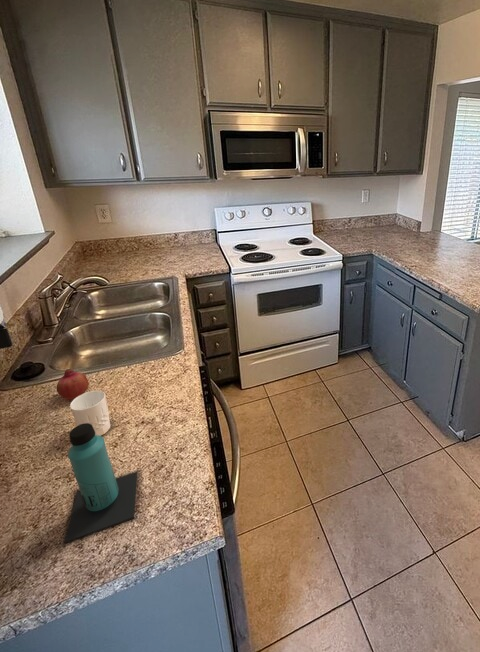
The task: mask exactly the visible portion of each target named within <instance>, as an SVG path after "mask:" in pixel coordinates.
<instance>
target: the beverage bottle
mask: <svg viewBox="0 0 480 652" xmlns="http://www.w3.org/2000/svg"><path fill="white" fill-rule="evenodd" d="M68 436H69V442H70V445H71V446H70V448H69V449H68V451H67V458H68V460H69V462H70V465H71V468H72V472H73V475H74V478H75V480H76V483H77V486H78V489H79V490H80V492H81V495H82V497H81V498H82V499H83V500H84V502H83V503H85V505H84V506H85V508H87V509H88V510H90V511H99V510H102V509H104V508H106V507H108V506H109V505H110V504H111V503H113V501H114V500H115V499H116V498H117V495H118V492H119V491H118V490H119V489H118V483H117V481H116V478H117V476H116V474H115V471H114V467H113V465H112V461H111V460H110V456H109V453H108V449H107V446H106V442H105V438H104V437H103V435H101V436H99V435H95V430H94V429H93V426H92V425H91V424H89V423H84V424H80V425H78V426H77V425H76V426H75V427H73V428H72V429H71V430H70V431H69V435H68Z"/></svg>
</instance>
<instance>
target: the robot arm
mask: <svg viewBox="0 0 480 652" xmlns="http://www.w3.org/2000/svg"><path fill="white" fill-rule="evenodd" d="M7 326H8V324H7V322H6V321H5V314H4V312H3V307H2V303H1V302H0V350H2V349H6V348H7V349H9V348H11V347H12V346H13V341H12V337H11V336H10V333H9V330H8V327H7Z"/></svg>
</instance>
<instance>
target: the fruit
mask: <svg viewBox="0 0 480 652" xmlns="http://www.w3.org/2000/svg"><path fill="white" fill-rule="evenodd" d="M89 383H90V382H89V379H88V377H87V375H86V374H85V373H84V372H81V371H74V369H71V368H67V369H65V371H64V374H63V375H62V376H61V377H60V378H59V380H58V381H57V384H56V392H57V394H58V396H60V397H61V398H63V399H65V400H74V399H75V398H76V397H78V396H80V395H82V394H84V393H86V392H87V390H88V389H89V385H90V384H89Z"/></svg>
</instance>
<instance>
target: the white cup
mask: <svg viewBox="0 0 480 652" xmlns="http://www.w3.org/2000/svg"><path fill="white" fill-rule="evenodd" d="M107 401H108V400H107V395H106V393H105V392H104V391H103V390H98V389H97V390H91V391H85V392H84V393H83V394H82V395H80V396H78V397H76V398H74V399H72V401H71V402H70V404H69V408H70V411H71V414H72V416H73V419H74V421H75V424H76V426H78V425H80V424H84V423H89V424H91V425H92V426H93V429H94V430H95V435H99V436H103V435H105V434H106V433H107V432H108V431H109V430H110V428H111V420H110V412H109V406H108V402H107Z"/></svg>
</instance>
